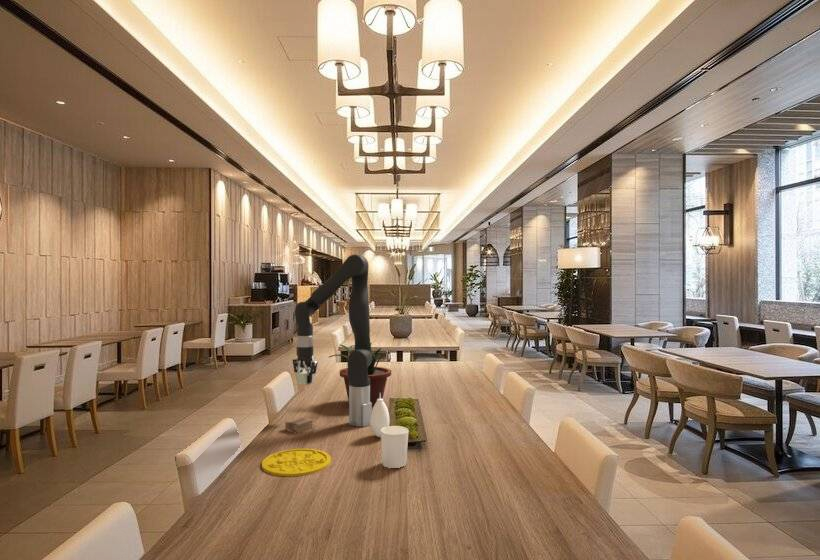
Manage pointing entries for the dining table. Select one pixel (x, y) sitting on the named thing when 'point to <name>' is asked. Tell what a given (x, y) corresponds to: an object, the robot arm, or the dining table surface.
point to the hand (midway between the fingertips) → (304, 382)
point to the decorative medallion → (296, 462)
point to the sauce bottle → (379, 417)
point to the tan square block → (299, 425)
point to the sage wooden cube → (303, 379)
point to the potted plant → (370, 376)
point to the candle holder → (394, 446)
